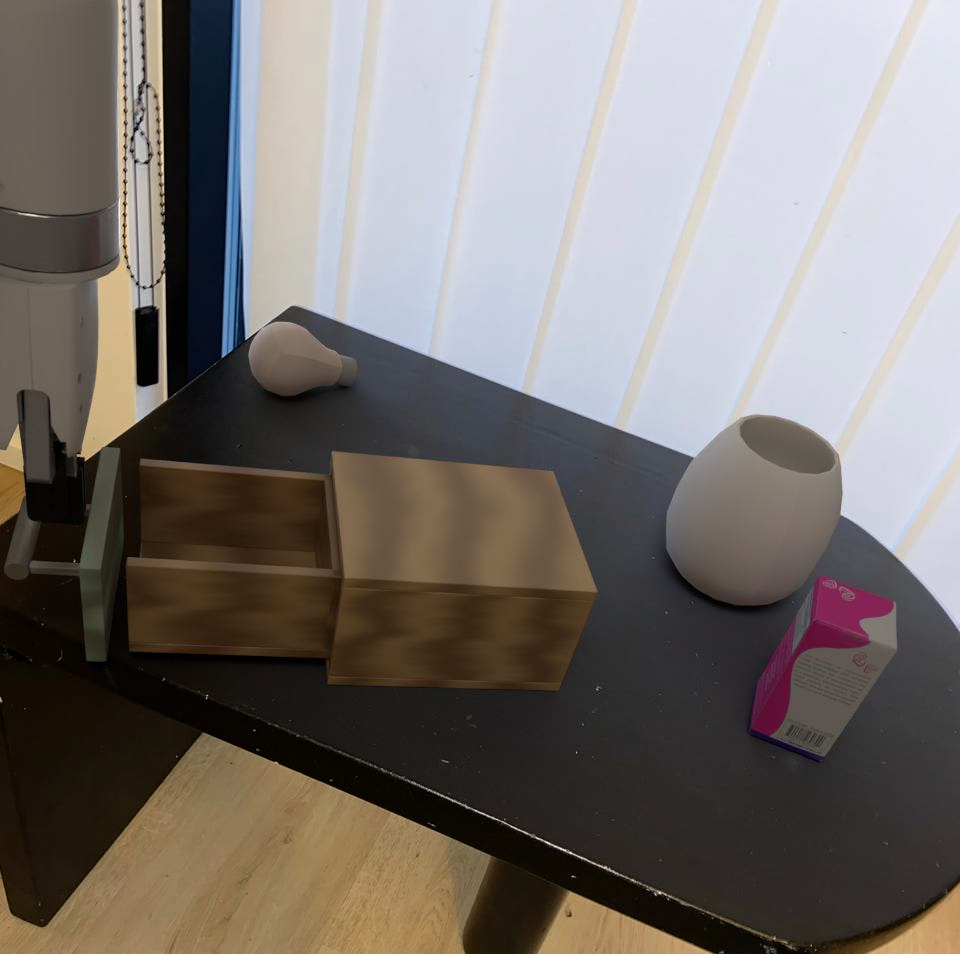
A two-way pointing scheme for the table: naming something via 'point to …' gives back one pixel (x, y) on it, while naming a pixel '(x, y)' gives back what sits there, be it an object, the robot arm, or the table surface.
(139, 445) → the table surface
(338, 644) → the cabinet
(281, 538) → the drawer
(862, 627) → the supplement box
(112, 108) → the robot arm
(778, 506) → the cup
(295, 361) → the light bulb
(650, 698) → the table surface
